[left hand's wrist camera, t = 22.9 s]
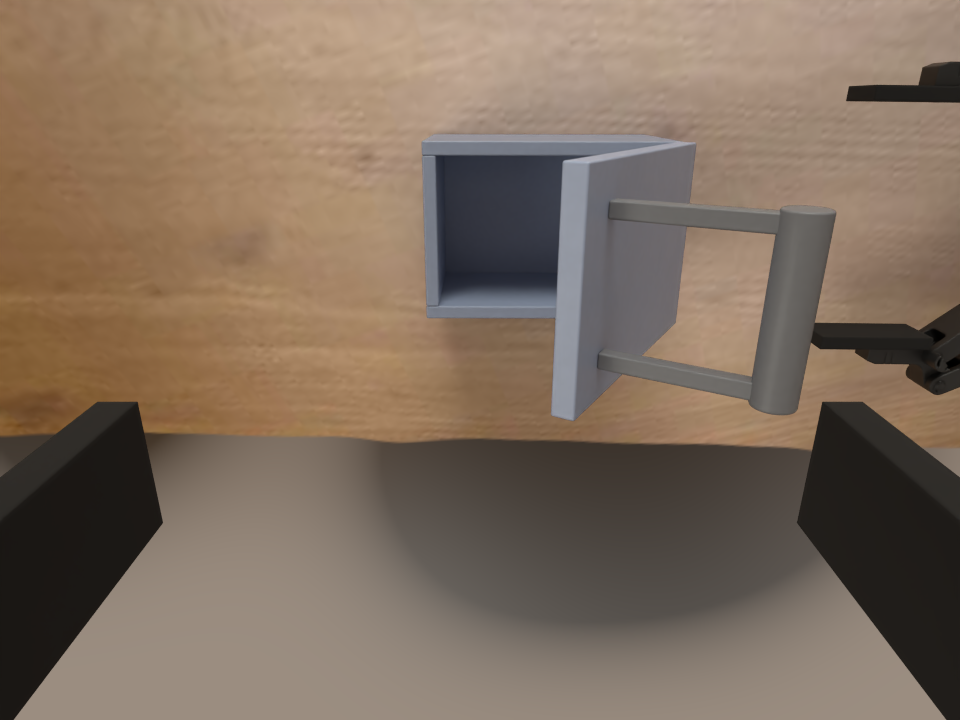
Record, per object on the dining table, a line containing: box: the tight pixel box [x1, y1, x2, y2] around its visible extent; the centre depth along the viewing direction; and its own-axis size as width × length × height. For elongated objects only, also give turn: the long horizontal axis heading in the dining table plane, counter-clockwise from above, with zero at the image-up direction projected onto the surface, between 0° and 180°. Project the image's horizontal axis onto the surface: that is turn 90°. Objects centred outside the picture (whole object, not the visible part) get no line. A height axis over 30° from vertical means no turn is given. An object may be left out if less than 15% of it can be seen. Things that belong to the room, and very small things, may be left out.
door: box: [551, 142, 836, 421], centre depth 27 cm, size 14×10×8 cm
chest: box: [422, 134, 682, 318], centre depth 39 cm, size 13×10×9 cm
